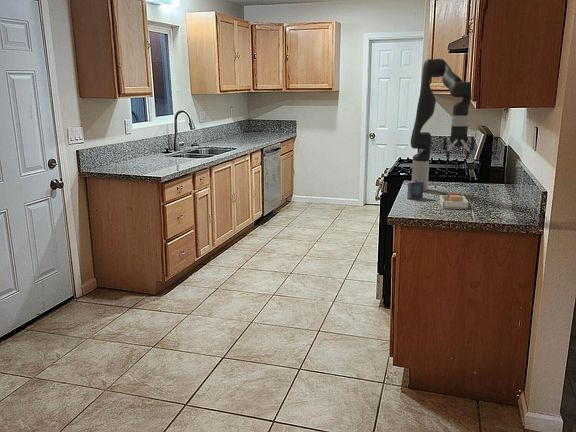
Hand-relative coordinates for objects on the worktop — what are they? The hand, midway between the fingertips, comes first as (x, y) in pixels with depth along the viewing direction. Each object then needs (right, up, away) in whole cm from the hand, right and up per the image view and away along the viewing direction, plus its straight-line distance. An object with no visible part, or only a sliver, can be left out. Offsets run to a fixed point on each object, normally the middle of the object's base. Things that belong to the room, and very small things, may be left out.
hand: (457, 158), depth 244 cm
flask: (-14, -18, +27) cm, 36 cm away
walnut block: (+2, -21, +12) cm, 24 cm away
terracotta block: (0, -22, +6) cm, 23 cm away
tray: (+1, -22, +9) cm, 24 cm away
